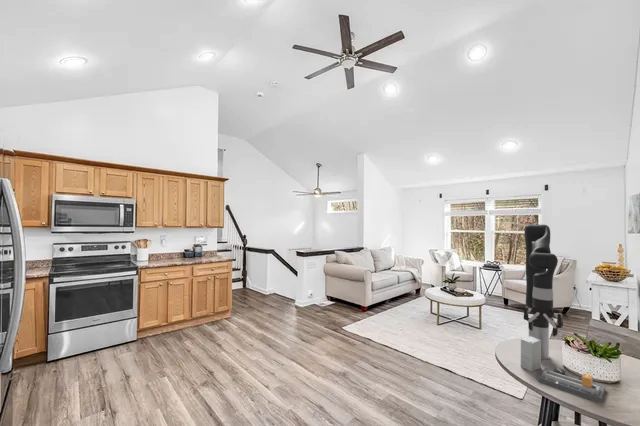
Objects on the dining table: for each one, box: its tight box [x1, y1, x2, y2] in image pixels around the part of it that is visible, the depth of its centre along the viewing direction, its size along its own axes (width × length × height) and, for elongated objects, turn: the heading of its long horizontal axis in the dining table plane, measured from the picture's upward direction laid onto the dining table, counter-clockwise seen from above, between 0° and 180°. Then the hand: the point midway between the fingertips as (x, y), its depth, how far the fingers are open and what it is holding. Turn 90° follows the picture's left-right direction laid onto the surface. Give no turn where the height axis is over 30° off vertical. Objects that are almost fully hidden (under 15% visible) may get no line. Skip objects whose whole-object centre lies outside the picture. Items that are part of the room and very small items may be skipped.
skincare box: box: [520, 335, 542, 373], centre depth 157 cm, size 8×6×15 cm
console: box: [537, 367, 606, 404], centre depth 141 cm, size 14×22×4 cm, turn 42°
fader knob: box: [581, 372, 594, 388], centre depth 135 cm, size 4×3×6 cm
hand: (542, 333), depth 137 cm, fingers open, 8 cm apart
